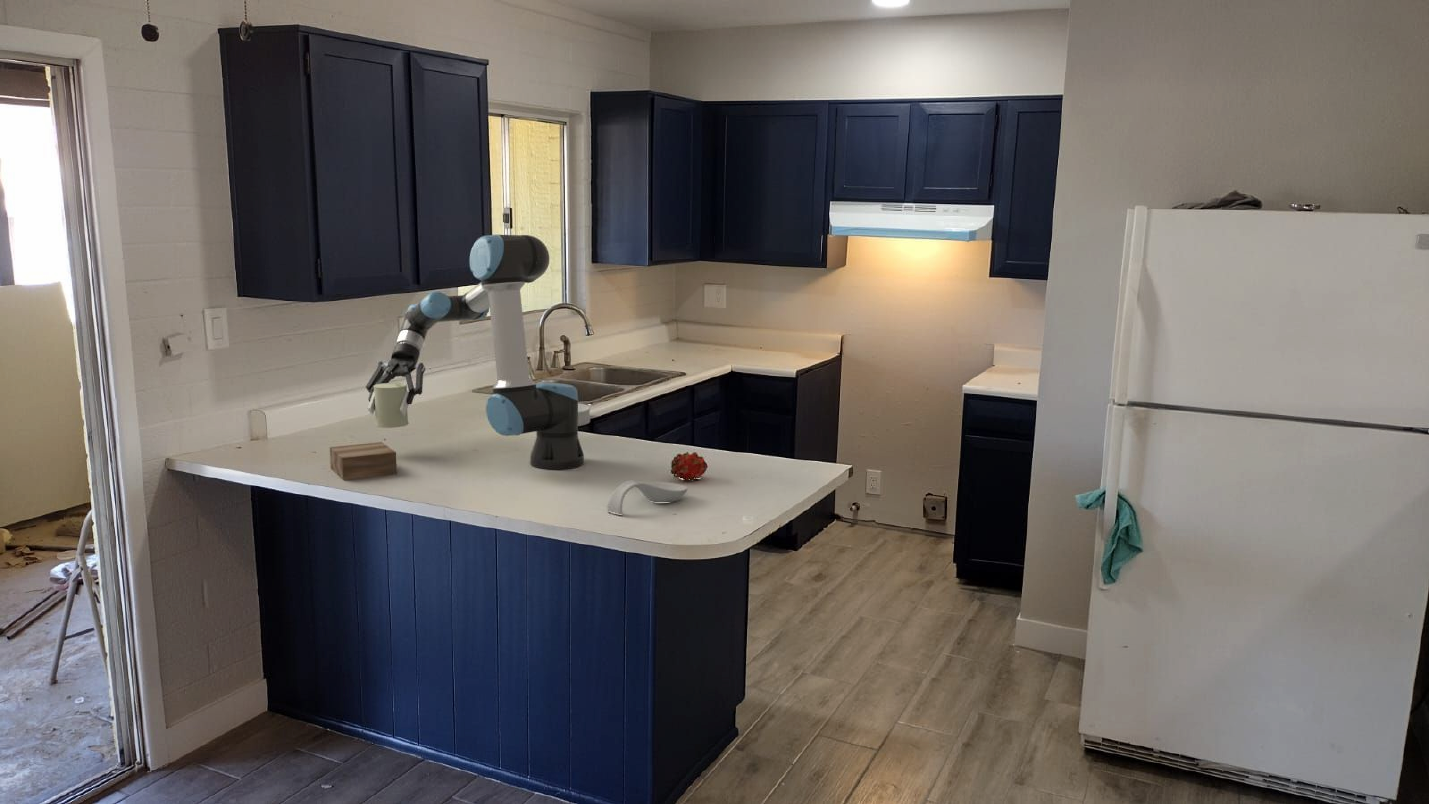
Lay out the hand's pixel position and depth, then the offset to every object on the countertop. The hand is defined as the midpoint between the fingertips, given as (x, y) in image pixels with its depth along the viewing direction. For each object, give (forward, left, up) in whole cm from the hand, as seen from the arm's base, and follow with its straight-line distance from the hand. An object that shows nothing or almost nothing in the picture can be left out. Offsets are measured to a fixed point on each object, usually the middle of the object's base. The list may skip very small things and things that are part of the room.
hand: (386, 411), depth 290 cm
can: (+2, -2, -5) cm, 6 cm away
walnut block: (-12, +10, -13) cm, 21 cm away
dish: (+27, -65, -14) cm, 72 cm away
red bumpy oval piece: (-61, -64, -14) cm, 90 cm away
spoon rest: (-77, -42, -14) cm, 89 cm away
